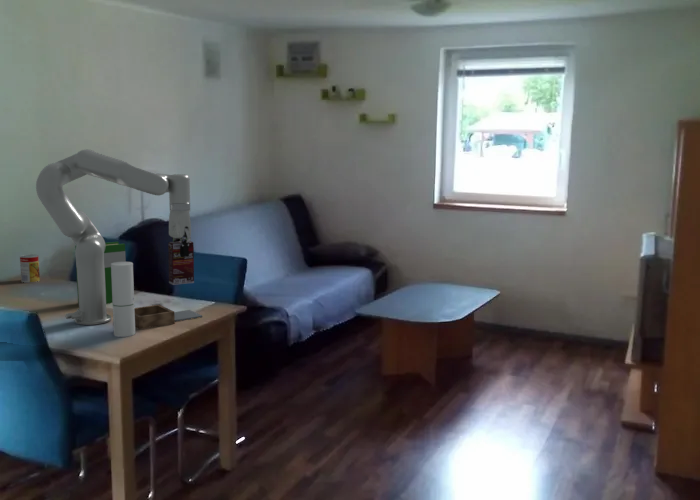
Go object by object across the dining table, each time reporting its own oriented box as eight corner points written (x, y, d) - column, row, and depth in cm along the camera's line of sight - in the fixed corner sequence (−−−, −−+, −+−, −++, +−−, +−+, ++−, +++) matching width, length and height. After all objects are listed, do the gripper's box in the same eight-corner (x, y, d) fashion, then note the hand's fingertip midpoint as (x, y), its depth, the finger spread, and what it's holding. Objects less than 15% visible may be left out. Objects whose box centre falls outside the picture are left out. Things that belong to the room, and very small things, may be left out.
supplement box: (173, 285, 257) (171, 243, 254) (168, 283, 261) (167, 241, 258) (195, 283, 262) (194, 241, 259) (190, 280, 266) (189, 240, 263)
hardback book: (119, 297, 292) (117, 241, 288) (127, 300, 287) (125, 243, 283) (78, 303, 281) (75, 245, 277) (84, 306, 275) (81, 247, 271)
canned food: (43, 279, 324) (41, 254, 322) (33, 283, 316) (32, 257, 315) (27, 279, 325) (26, 254, 323) (17, 282, 318) (16, 256, 316)
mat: (175, 321, 256) (175, 320, 256) (163, 315, 264) (163, 313, 264) (202, 317, 263) (202, 315, 262) (189, 311, 271) (189, 309, 271)
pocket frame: (139, 329, 245) (139, 317, 244) (125, 321, 255) (124, 309, 254) (174, 323, 253) (174, 311, 253) (159, 315, 264) (159, 304, 263)
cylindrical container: (137, 331, 243) (135, 261, 239) (132, 336, 236) (129, 265, 232) (117, 330, 243) (114, 261, 239) (111, 336, 236) (108, 265, 231)
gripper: (160, 206, 261) (162, 253, 264) (180, 210, 248) (181, 259, 251) (179, 205, 265) (180, 251, 268) (199, 209, 252) (200, 257, 255)
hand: (181, 254), depth 259 cm, fingers closed on supplement box, 5 cm apart
